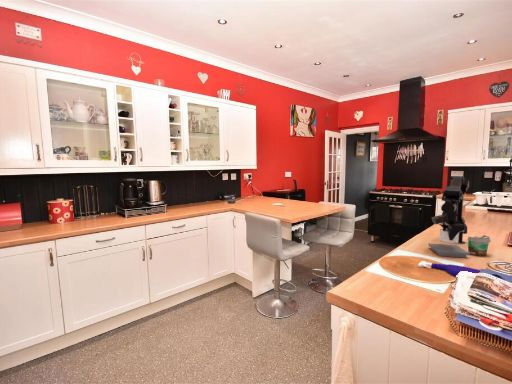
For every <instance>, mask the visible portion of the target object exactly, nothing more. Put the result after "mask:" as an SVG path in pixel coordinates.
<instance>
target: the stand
mask: <svg viewBox="0 0 512 384" xmlns="http://www.w3.org/2000/svg"><path fill="white" fill-rule="evenodd" d="M428 246H429V247H430V250H432V251H433V252H434V253H435V254H437V255H438V256H439V257H451V258H461V259H462V258H463V259H464V258H465V259H466V258H467V256H471V255H470V253H469V252H468V250H465V249H463V248H461V247H460V246H458V245H457V244H447V243H446V244H445V243H430V242H428Z"/></svg>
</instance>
